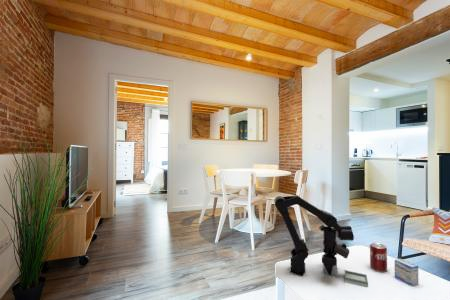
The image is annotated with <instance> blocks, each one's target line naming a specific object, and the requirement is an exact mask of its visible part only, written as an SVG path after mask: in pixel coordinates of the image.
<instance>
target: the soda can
mask: <svg viewBox="0 0 450 300" xmlns="http://www.w3.org/2000/svg"><path fill="white" fill-rule="evenodd" d="M369 266H370V268H371V269H372V270H374V271H375V272H378V273H379V272H380V273H385V272H387V271H388V249H387V246H386V245H384V244H382V243H376V242H372V243H370V245H369Z"/></svg>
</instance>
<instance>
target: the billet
mask: <svg viewBox="0 0 450 300" xmlns="http://www.w3.org/2000/svg"><path fill="white" fill-rule="evenodd" d="M322 264H323V263H322ZM322 267H323V268H322V269H323V275H325V276H329V277H333V278H337V277H338V263H337V264H336V265H335V266H333V268H332V273H331V275H329V274H328V272H327V270H326V268H325V266H324V264H323V265H322Z"/></svg>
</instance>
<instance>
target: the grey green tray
mask: <svg viewBox="0 0 450 300" xmlns="http://www.w3.org/2000/svg"><path fill="white" fill-rule="evenodd" d="M367 276H368V274H365V273H361V272H355V271H350V270H344V282H345V283H348V284H353V285H358V286H361V287H366V288H368V287H369V282H368V277H367Z"/></svg>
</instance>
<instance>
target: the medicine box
mask: <svg viewBox="0 0 450 300" xmlns="http://www.w3.org/2000/svg"><path fill="white" fill-rule="evenodd" d="M394 278H395V279H396V280H399V281H401V282H403V283H405V284H407V285H408V286H412V287H414V286H417V285H419V282H420V281H419V265H418V264H414V263H411V262H410V261H408V260H405V259H402V258H397V259H394Z"/></svg>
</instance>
